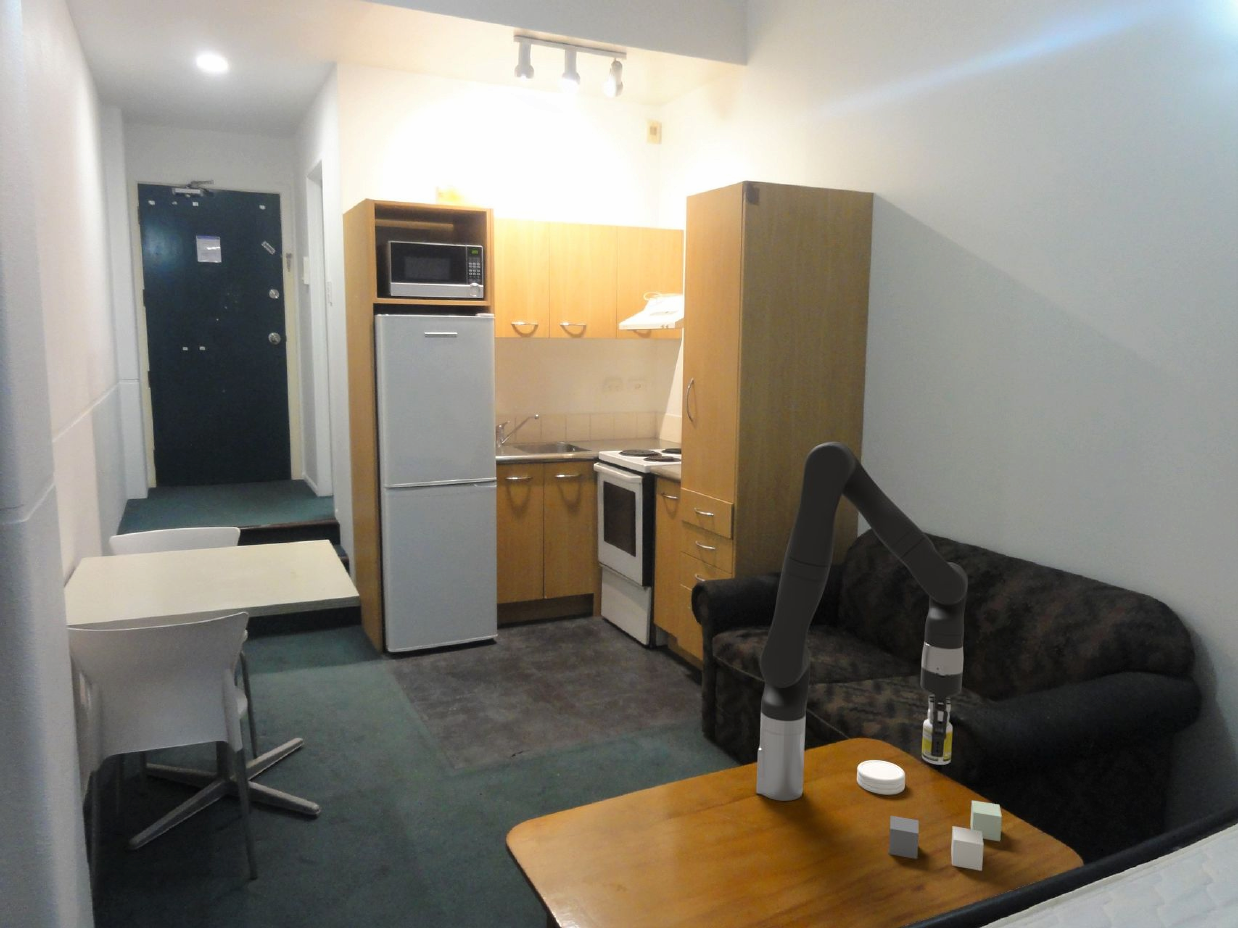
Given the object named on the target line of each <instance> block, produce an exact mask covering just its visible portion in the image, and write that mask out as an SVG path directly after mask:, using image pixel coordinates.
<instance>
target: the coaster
mask: <svg viewBox="0 0 1238 928" xmlns="http://www.w3.org/2000/svg"><path fill="white" fill-rule="evenodd" d="M856 770H857V773H856V782H857V784H858V785H859V787H861V788H862V789H864V790H866V791H868V792H870V793H874V794H877V795H886V796H887V795H888V796H889V795H890V796H892V795H897V794H900V793H901V792H903V791H904V789H905V787H906V785H905V783H906V773H905V771H904V770H903V768H901V767H900V766H898V765H896V764H895V763H892V762H889V761H886V760H885V761H884V760H879V759H878V760H877V759H876V760H875V759H871V760H865V761H862V762H861V763H859V764H858V766H857V768H856Z"/></svg>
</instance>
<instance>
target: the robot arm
mask: <svg viewBox="0 0 1238 928" xmlns="http://www.w3.org/2000/svg"><path fill="white" fill-rule="evenodd" d="M801 485H802V486H801V492H800V500H799V501H800V502H799V506H798V509H797V514H796V516H795V518H794V519H795V520H794V522H793V526H792V530H791V533H790V536H789V539H788V543H787V547H786V551H785V554H784V559H783V563H782V567H781V572H780V573H781V574H780V578H779V583H778V589H777V595H776V602H775V609H774V612H773V613H774V614H773V618H772V622H771V626H770V629H769V632H768V634H767V638H766V640H765V643H764V645H763V649H762V651H761V653H760V656H759V667H760V668H759V669H760V672H761V675H762V677H763V678H764V680H765V683H764V689H763V693H762V697H761V699H760V700H761V705H760V730H759V731H760V732H759V734H760V735H759V738H760V739H759V747H758V749H757V765H756V766H757V767H756V794H759V795H762V796H765V797H766V798H769V799H772V800H774V801H782V802H783V801H787V802H789V801H794V800H797V799H799V798H801V797H802V795H803V787H804V765H805V764H804V763H805V762H804V761H805V743H806V742H805V738H806V716H807V715H806V713H807V712H806V711H807V703H808V698H809V690H810V677H811V676H810V673H811V656H810V650H809V648H808V645H807V644H806V643H807V636H808V631H809V629H810V624H811V623H812V620H813V618H814V615H815V613H816V611H817V609H818V606H819V604H820V602H821V599H822V596H823V594H824V591H825V587H826V585H827V582H828V578H829V573H830V569H831V565H832V561H833V555H834V545H835V544H834V542H835V519H836V515H837V510H838V507H839V504H840V500H841V497H842V496H843V497H844V498H845V499H847V501H849V502H850V503H851V504H852V505H853V506H854V508H855V509H856V510H857V511H858V512H859V513H860V515H862V517H863V518H864V520H865V521H866V523H867V524H868V526H869V527H870V528H871V530H872V531H873V533H874V534H875V535H876V536H877V538H878V539H879V540H880V542H882V545H884V546H885V547H886V548H887V549H888V550H889V551H890V552H891V554H893V555H894V556H895V557H896V558H897V559H898V561H899V562H901V563H902V564H903V565H904V566H905V567H906V569H908V570H909V572H910V574H911V575H912V577H913V578H914V579H915V581H916V582H917V583H918V584H919V586H920V588H922V589H923V591H925V593H926V594H927V595H928V596H929V600H928V613H927V614H926V615H927V616H926V621H925V626H924V627H925V628H924V642H923V647H922V651H921V653H922V654H921V669H920V680H919V681H920V684H919V685H920V687H921V689H922V690H924V691H925V692H927V693H930V694H931V695H928V709H930V721H929V722H930V724H931V725H932V733H931V736H932V744H931V755H932V756H935V757H943V750H944V740H945V739H946V727H947V726H948V725H949V723H950V715H949V713H950V712H951V710H952V709H951V708H952V707H951V706H952V704H951V698H950V696H952V697H953V696H956V695H959V694H960V693H961V692H962V685H963V684H962V683H963V673H964V672H963V669H964V637H965V636H964V634H965V624H964V623H965V622H964V617H965V615H964V614H965V609H966V602H967V594H968V593H967V592H968V586H969V585H968V584H969V580H968V575H967V573H966V572H965V570H964V569H963V568H962V566H960V565H959V564H957V563H954V562H951V561H950V562H949V561H947V560H946V559H945V558H944V557H943V556H942V555H941V554H940V553H939V552H938V551H937V549H936V547H935V545H934V543H933V541H932V540H931V539H930V538H929V537H928V536H927V535H926V533H925V532H924V531H922V530H921V529H920V527H919V526H918V525H916V524H915V522H914V521H913V520H912V519H910V517H909V516H907V514H905V513H904V512H903V510H902V509H900V508H899V507H898V506H897V505H896V504H895V502H893V501H892V499H890V498H889V496H887V495H886V493H885V492H883V491H882V489H881V487H879V486H878V484H877V483H876V482H875V481H874V479H873V478H872V477H871V475H869V474H868V472H867V470H866V469H865V468H864V466H863V465H862V464H861V462H860V460H859V459H858V458H857V456H856V455H855V454H854V452H853V451H852V449H851V448H850V447H849V446H848V445H846V444H845V443H843V442H839V441H827V442H824V443H820V444H819V445H817V446H814V447H813V448H812V449H811V450H810V451H809V452H808V454H807V456H806V459H805V461H804V468H803V477H802V484H801ZM936 728H939V729H943V732H936V731H935V729H936Z"/></svg>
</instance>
